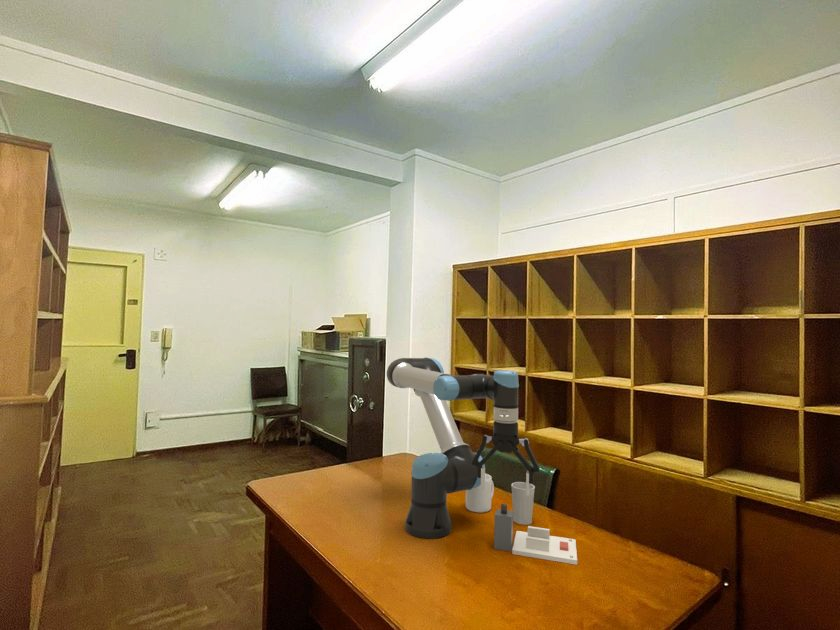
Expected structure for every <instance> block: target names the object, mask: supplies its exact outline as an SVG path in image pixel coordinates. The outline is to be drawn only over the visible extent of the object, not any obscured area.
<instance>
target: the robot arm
mask: <svg viewBox="0 0 840 630" xmlns="http://www.w3.org/2000/svg"><path fill="white" fill-rule="evenodd" d="M386 378H387V381H388V383H389V384H390V385H391V386H393V387H396V388H399V389H407V388H409V389H412V390H413V392H414V394H415V395H416V396H417V397H420V400H421V403H422V404H423V407H424V410H425V412H426V415H427V417H428V420H429V422H430V425H431V428H432V430H433V433H434V436H435V439H436V441H437V444H438V446H439V448H440V451H441V452H440V453H439V452H434V453H432V452H428V453H423V454H421V455H418V456H417V457H415V459H414V460H413V461H412V467H411V472H410V473H411V498H410V500H411V501H410V506H409V510H408V513H407V516H406V518H405V524H404V525H405V527H404V528H405V532H406V533H408V534H409V535H411V536H413V537H416V538H421V539H439V538H442V537H446V536H447V535H449V534H450V533H451V531H452V519H451V517H450V513H449V510H448V507H447V495H448V494H453V493H459V492H463V491H466V490H471V489H473V488H477V487H479V486H480V485H481V490H484V488H485V474H486V465H485V464H486V463H487V462H488V461H489V459H491V457H492V456H494V454H495V453H496V452H497V451H498V452H499V453H507V454H510V453H513V454H514V455H515V456H516V458H517V459H518V460H519V462H520V463H522V465H523V466H524V468H525V469H526V475H525V476H526V477H525V479H526V480H525V483H526V496H529V484H532V485H533V483H534V473H536V472H540V466H539V463H538V461H537V459H536V457H535V455H534V453H533V450H532V448H531V446H530V442H529V441H530V440H529V438H528V437H525V438H519V423H518V421H519V387H520V384H519V373H518V372H517V371H515V370H500V369H499V370H495V371H494V372H493V375H488V374H485V373H474V374H473V373H472V374H469V375H468V374H465V375H454V374H453V375H452V374H448V373H445V370H444V368H443V365H442V364H441V362H440V361H439V360H437V359H436V358H432V357H423V358H422V357H420V358H419V357H417V358H416V357H403V358H402V357H401V358H398V359H395V360H393V361H392V362H391V363H390V364H389V365H388V366H387V370H386ZM474 399H489V400H493V411H492V412H493V415H492V417H493V418H492V419H493V420H494V421H493V423H492V424H493V425H492V426H493V427H492V431H493V433H492V436H490V435H488V434H484V435H483V436H482V441H481V444H480V446H479V447H478V450H477V452H473V451H472V449H471V447H470V445H469V444H467V443H465V442H464V441H463V437H462V436H461V434H460V431H459V429H458V426H457V424H456V422H455V419H454V417H453V414H452V411H451V409H450V407H449V404H448V403H447V402H448V401H456V400H457V401H458V400H459V401H460V400H474ZM490 441H491V442H492V444H493V445H494V446H493V447H492V448H491V449H490V450H489V451H488V452H487V453H486V455H485V456H484V457H482V456H481V455H482V453H483V451H484V449H485V447H487V446H486V445H487V444H489V443H490ZM519 444H521V445H522V447H524V450H525V452H526V454H527V456H528V457H529V460H530V462H531V464H532V465H531V464H530V462H529V461H528V460H527V459H526V457H525V456H524V455H523V453H522V452H521V451H520V449H519V448H518V445H519Z"/></svg>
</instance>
